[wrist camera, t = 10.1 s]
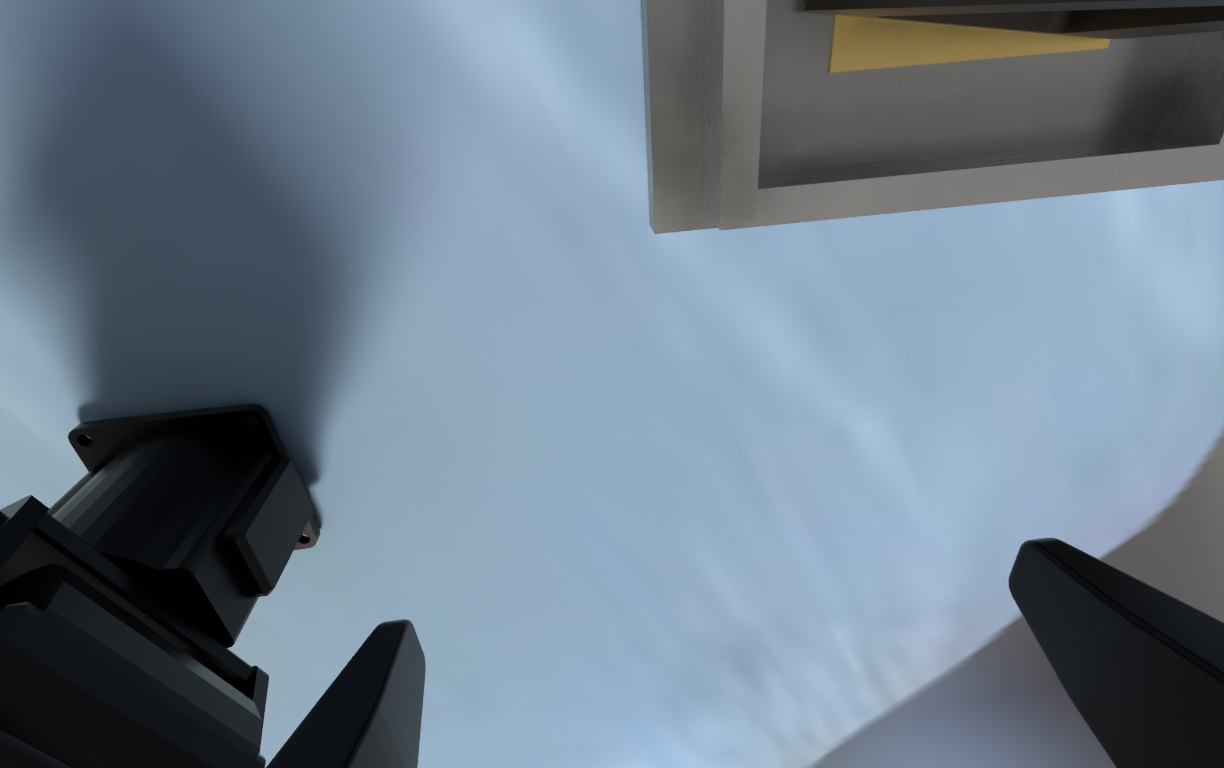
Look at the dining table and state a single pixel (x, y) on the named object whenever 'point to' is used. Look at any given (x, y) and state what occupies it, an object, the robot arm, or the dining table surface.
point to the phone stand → (1045, 15)
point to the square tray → (908, 114)
